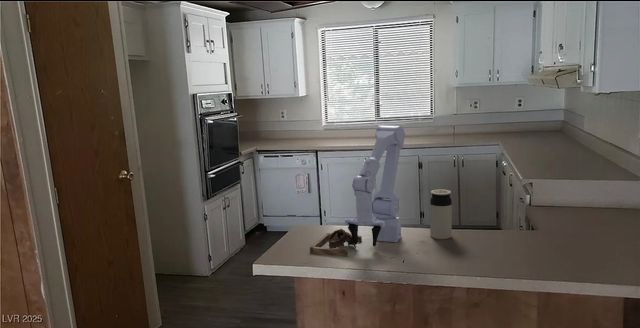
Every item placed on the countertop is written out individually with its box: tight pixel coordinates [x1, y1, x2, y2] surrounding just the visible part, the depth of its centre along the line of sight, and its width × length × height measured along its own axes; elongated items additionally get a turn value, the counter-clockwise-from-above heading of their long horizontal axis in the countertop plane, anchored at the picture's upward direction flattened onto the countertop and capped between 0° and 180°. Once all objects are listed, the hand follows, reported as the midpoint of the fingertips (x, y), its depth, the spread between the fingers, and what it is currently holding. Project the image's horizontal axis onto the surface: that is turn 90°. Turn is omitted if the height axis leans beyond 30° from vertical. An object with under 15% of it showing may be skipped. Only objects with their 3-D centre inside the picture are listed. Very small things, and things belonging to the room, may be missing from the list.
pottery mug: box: [327, 228, 357, 250], centre depth 174 cm, size 12×10×8 cm
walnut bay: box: [309, 232, 363, 257], centre depth 176 cm, size 14×17×2 cm
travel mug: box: [429, 188, 453, 240], centre depth 181 cm, size 8×8×18 cm
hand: (365, 244), depth 172 cm, fingers open, 6 cm apart
